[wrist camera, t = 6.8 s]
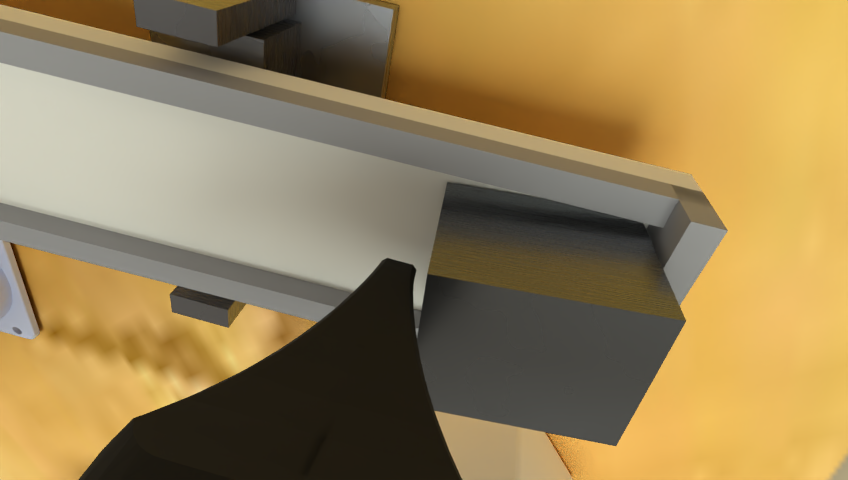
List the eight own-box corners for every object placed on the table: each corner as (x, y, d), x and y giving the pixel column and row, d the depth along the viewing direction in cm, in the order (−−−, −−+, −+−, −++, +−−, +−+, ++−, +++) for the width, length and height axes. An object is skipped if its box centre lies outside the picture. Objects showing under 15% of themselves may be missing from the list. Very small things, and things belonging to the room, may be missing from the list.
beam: (-80, 143, 19) (-236, 204, 15) (-163, -60, 15) (-398, -50, 12) (586, 312, 19) (604, 422, 15) (672, 145, 15) (727, 230, 11)
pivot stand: (181, 209, 22) (88, 288, 17) (157, -55, 16) (8, -42, 12) (360, 258, 21) (314, 351, 17) (399, 5, 16) (344, 42, 11)
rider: (427, 298, 15) (406, 405, 12) (447, 181, 13) (427, 274, 10) (591, 328, 15) (615, 446, 12) (640, 215, 13) (685, 321, 10)
